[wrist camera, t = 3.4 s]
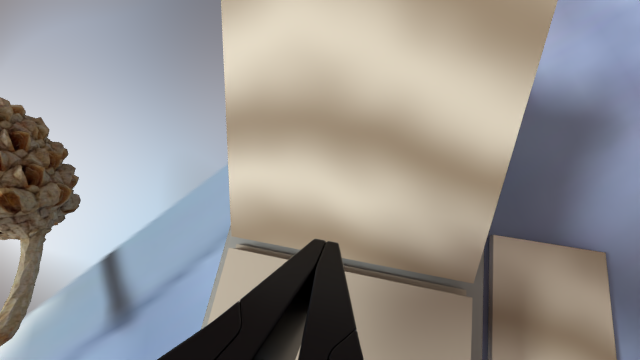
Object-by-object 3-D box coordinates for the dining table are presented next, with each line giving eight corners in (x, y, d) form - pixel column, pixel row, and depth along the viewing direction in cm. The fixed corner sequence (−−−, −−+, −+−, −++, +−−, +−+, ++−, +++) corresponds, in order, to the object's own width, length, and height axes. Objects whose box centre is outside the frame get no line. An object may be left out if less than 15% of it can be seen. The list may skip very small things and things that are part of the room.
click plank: (467, 269, 15) (473, 283, 14) (241, 227, 18) (231, 236, 17) (542, 3, 11) (559, -8, 10) (234, 4, 14) (220, -5, 13)
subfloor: (449, 389, 18) (492, 451, 12) (233, 329, 21) (181, 355, 15) (462, 107, 24) (495, 53, 18) (293, 95, 27) (272, 46, 21)
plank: (611, 475, 16) (630, 491, 15) (482, 436, 17) (491, 448, 16) (591, 253, 19) (605, 252, 18) (486, 236, 21) (493, 234, 20)
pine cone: (15, 159, 30) (-140, 111, 21) (89, 117, 31) (-31, 52, 21) (37, 359, 23) (-189, 424, 13) (135, 302, 23) (-20, 326, 14)
